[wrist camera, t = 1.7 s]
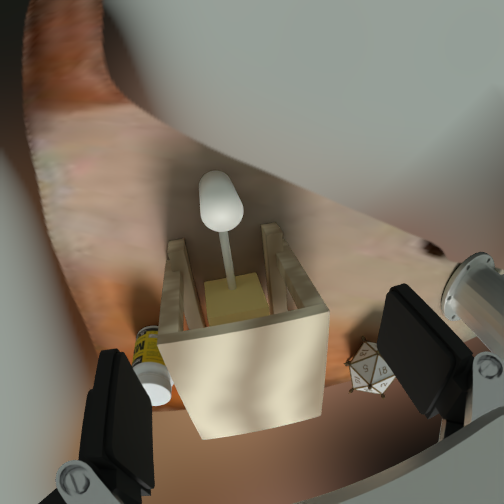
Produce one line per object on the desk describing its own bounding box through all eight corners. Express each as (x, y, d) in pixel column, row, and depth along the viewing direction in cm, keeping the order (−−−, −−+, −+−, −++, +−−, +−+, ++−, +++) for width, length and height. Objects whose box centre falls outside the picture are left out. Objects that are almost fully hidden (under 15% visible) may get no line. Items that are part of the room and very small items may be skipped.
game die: (359, 323, 44) (416, 329, 36) (366, 368, 46) (419, 379, 37) (321, 353, 39) (385, 366, 31) (331, 400, 40) (388, 418, 32)
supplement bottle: (141, 319, 33) (133, 375, 25) (180, 330, 34) (181, 386, 27) (132, 347, 34) (125, 402, 27) (169, 357, 36) (168, 411, 29)
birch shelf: (283, 220, 30) (331, 287, 20) (289, 339, 38) (320, 415, 27) (161, 242, 29) (147, 322, 19) (195, 357, 37) (202, 439, 26)
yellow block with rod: (243, 165, 27) (258, 185, 21) (260, 312, 35) (275, 356, 29) (182, 176, 27) (179, 198, 20) (213, 321, 34) (219, 367, 28)
